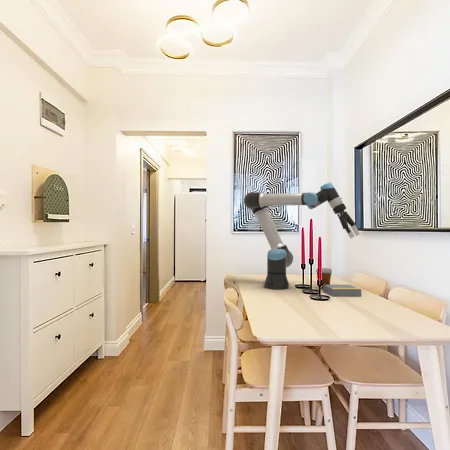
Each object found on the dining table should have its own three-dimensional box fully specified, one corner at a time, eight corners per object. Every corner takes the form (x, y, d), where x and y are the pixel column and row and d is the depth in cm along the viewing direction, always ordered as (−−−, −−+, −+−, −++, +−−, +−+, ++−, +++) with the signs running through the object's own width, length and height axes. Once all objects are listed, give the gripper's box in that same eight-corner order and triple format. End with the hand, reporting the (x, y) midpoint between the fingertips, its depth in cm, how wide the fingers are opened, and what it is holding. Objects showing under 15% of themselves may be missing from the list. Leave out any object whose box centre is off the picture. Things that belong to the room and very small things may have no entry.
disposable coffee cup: (312, 287, 205) (312, 268, 206) (324, 286, 209) (324, 267, 210) (323, 290, 197) (323, 270, 197) (335, 289, 201) (335, 269, 201)
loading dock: (332, 296, 179) (332, 288, 179) (323, 291, 193) (323, 284, 193) (361, 296, 180) (361, 288, 180) (349, 291, 194) (350, 284, 194)
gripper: (337, 203, 190) (356, 235, 185) (348, 202, 210) (365, 231, 205) (326, 209, 194) (344, 241, 189) (338, 208, 214) (354, 236, 209)
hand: (355, 236), depth 197 cm, fingers open, 13 cm apart
